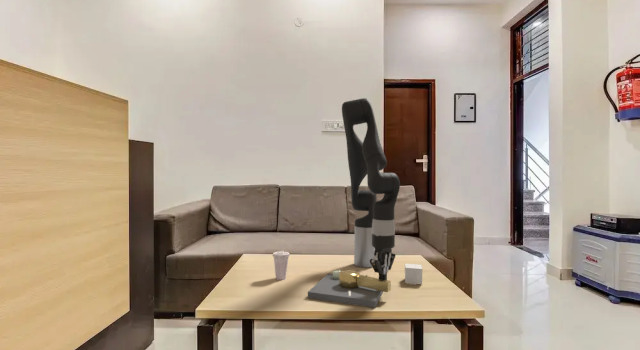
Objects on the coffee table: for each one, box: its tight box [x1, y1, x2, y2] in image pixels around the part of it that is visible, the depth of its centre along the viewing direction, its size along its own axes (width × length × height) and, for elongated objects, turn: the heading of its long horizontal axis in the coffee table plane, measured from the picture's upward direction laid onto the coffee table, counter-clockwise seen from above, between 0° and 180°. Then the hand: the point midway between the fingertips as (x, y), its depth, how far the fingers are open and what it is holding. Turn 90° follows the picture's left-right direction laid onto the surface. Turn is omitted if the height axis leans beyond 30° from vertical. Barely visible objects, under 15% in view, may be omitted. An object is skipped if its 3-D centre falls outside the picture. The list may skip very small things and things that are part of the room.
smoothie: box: [272, 241, 290, 281], centre depth 128 cm, size 6×6×14 cm
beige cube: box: [404, 263, 423, 285], centre depth 126 cm, size 6×6×6 cm
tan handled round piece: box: [339, 269, 392, 293], centre depth 112 cm, size 18×7×4 cm, turn 56°
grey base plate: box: [307, 270, 384, 309], centre depth 115 cm, size 22×22×5 cm
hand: (382, 284), depth 111 cm, fingers closed
